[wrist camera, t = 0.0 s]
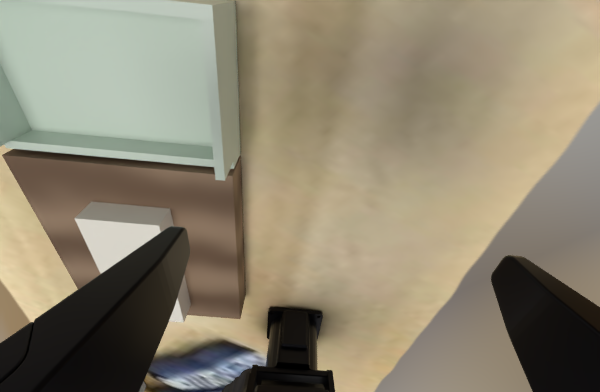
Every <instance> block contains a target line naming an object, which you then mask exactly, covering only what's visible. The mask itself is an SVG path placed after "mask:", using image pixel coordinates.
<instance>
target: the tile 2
mask: <svg viewBox="0 0 600 392" xmlns="http://www.w3.org/2000/svg"><path fill="white" fill-rule="evenodd" d="M190 305H191V303H190V298H189V293H188V289H187V284H186V280H185V275H184V277H183V280H182V284H181V287H180V291H179V294H178V297H177V301H176V304H175V307H174V309H173V312H172V315H171V317H170V319H169V321H173V322H184V321H185V318H186V316H187V313H188V310H189V308H190Z"/></svg>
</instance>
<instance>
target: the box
mask: <svg viewBox="0 0 600 392" xmlns="http://www.w3.org/2000/svg"><path fill="white" fill-rule="evenodd" d="M2 145H5V147H6V148H11V149H22V150H33V151H44V152H55V153H65V154H76V155H87V156H98V157H109V158H120V159H131V160H142V161H153V162H163V163H174V164H185V165H196V166H207V167H214V169H215V180H223V181H225V179H226V177H227V175H228V173H229V171H230V169H234V167H235V165H236V163H237V160H238V158H239V156H240V153H241V149H240V119H239V89H238V59H237V29H236V1H231V0H0V146H2Z"/></svg>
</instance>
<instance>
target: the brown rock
mask: <svg viewBox="0 0 600 392" xmlns="http://www.w3.org/2000/svg"><path fill="white" fill-rule="evenodd" d="M251 370H252V369H247V370H245V371H243V372H242V373H241V375H240V376H239V377H236V378H235V380H234V381H233V382H232V383H231V384H228V385H226V386H225V388H224V390H223V391H222V392H243V390H244V384H245V379H246V373H247V372H248V371H251Z"/></svg>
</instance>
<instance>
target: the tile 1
mask: <svg viewBox="0 0 600 392" xmlns="http://www.w3.org/2000/svg"><path fill="white" fill-rule="evenodd" d="M74 219H75V221H76V223H77V225H78V227H79V229H80V231H81V233H82V236H83V238H84V240H85V242H86V244H87V246H88V248H89V250H90V252H91V255H92V257H93V259H94V261H95V263H96V265H97V267H98V269H99V272H100V273H103V272H104V271H106V270H107V269H109V268H110V267H112V266H113V265H114V264H116V263H117V262H119V261H120V260H122V259H123V258H125V257H126V256H127V255H129V254H130V253H132V252H133V251H135V250H136V249H138V248H139V247H140V246H142V245H143V244H145V243H146V242H148V241H149V240H151V239H152V238H153V237H155V236H156V235H158V234H159V233H161V232H162V231H164V230H165V229H166V228H168V227H170V226H174V225H173V220H172V215H171V211H170V209H169V208H158V207H146V206H135V205H124V204H112V203H101V202H91V203H90V204H89V205H88V206H87V207H86V208H85V209H83V210H82V211H81V212H80V213H79V214H78V215H77V216H76V217H75V218H74Z"/></svg>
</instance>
